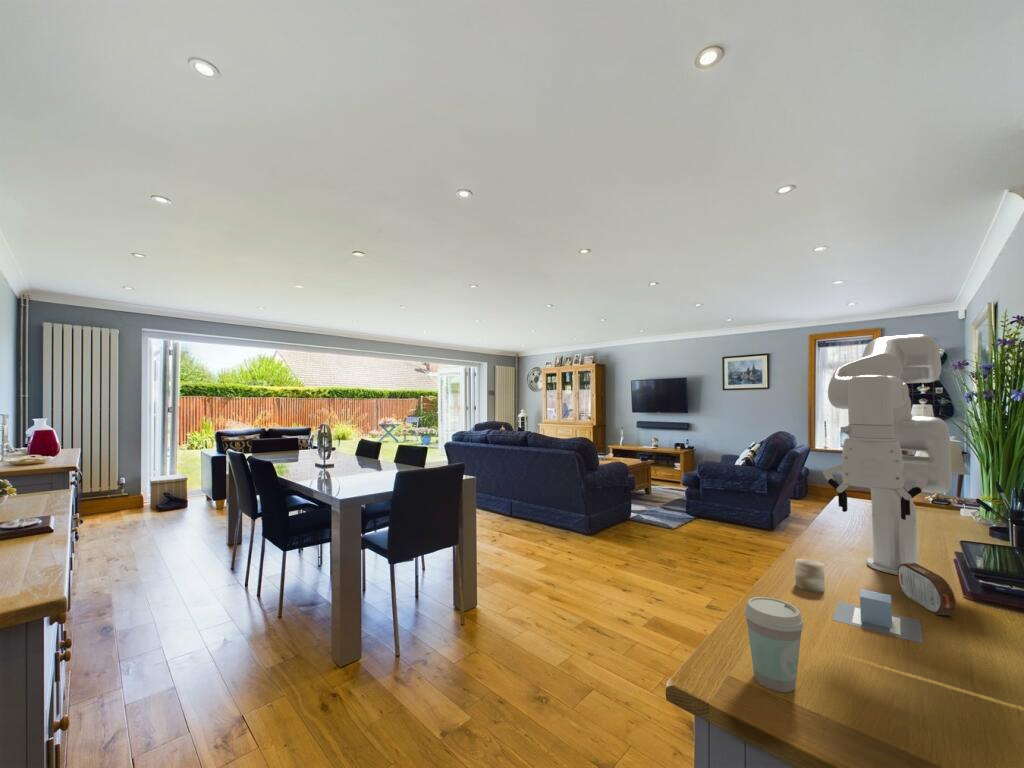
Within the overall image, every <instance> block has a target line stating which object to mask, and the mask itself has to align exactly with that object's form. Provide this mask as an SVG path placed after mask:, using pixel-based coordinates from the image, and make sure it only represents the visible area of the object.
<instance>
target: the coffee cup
mask: <svg viewBox="0 0 1024 768" xmlns="http://www.w3.org/2000/svg"><path fill="white" fill-rule="evenodd" d="M746 602H747V603H746V606H744V611H743V614H744V616H745V618H746V624H747V632H748V639H749V647H750V655H751V661H752V670H753V676H754V679H755V678H756V679H755V680H756V681H757V683H759V684H760V685H761V686H763V687H765V688H766V689H769V690H772V691H775V692H778V693H789V692H793V691H794V690H796V683H797V675H798V668H799V667H798V666H799V655H800V647H801V640H802V639H801V638H802V630H803V629H804V628H805V623H804V619H803V617H802V615H801V611H800V610H799V609H798V608H797V606H794V605H793V604H791V603H789V602H787V601H785V600H782V599H777V598H773V597H767V596H766V597H765V596H756V597H751V598H749V599H748V600H747V601H746Z"/></svg>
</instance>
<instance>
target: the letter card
mask: <svg viewBox="0 0 1024 768" xmlns="http://www.w3.org/2000/svg"><path fill="white" fill-rule="evenodd" d="M832 621H834V622H838V623H840V624H841V623H842V624H846V625H850V626H853V627H857V628H861V629H864V630H869V631H873V632H876V633H879V634H883V635H886V636H887V635H888V636H892V637H895V638H900V639H903V640H907V641H911V642H915V643H918V644H924V641H923V632H922V622H921V619H919V620H918V619H915V618H910V617H907V616H902V615H899V614H894V613H892V629H891V628H887V627H883V626H879V625H875V624H871V623H867V622H863V621H861V613H860V605H856V604H852V603H848V602H843V601H839V600H838V601H837V603H836V606H835V609H834V612H833V616H832Z"/></svg>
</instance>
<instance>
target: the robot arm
mask: <svg viewBox="0 0 1024 768" xmlns="http://www.w3.org/2000/svg"><path fill="white" fill-rule="evenodd" d="M938 345H939V344H938V342H937V341H936V340H935V338H933V337H932V336H931V335H928V334H922V333H921V334H920V333H917V334H906V335H905V334H904V335H903V334H902V335H892V336H891V335H890V336H882V337H877V338H874V339H873V340H871V341H870V342H868V343H867V344H866V346H865V348H864V351H863V353H862V357H861V358H859V359H857V360H854V361H852V362H849V363H845V364H843V365H841V366H840V367H838V368H837V369H835V371H834V372H833V374H832V376H831V379H830V381H829V382H828V387H827V398H828V401H829V403H830V404H831V405H832V406H833V407H834V408H836V409H841V410H848V411H847V414H848V425H846V426H840V433H841V434H846V435H848V437H847V438H844V441H843V446H842V454H841V463H840V464H837V465H835V466H832V467H829V468H826V469H823V471H822V474H823V476H824V478H825V479H826V481H827V482H828V484H829V485H830V486H831V488H833V489H834V490H836V492H837V494H838V496H837V497H838V507H839V508H841V509H842V510H841V511H842V512H843V513H846V512H847V511H848V492H847V491H846V489H848V488H849V487H850V486H852V487H861V488H869V489H870V495H871V498H870V499H871V524H872V526H871V527H872V528H871V529H872V557H868V558H866V565H867V566H869V567H870V568H872V569H874V570H876V571H879V572H882V573H887V574H889V575H890V574H891V575H895V576H898V570H897V569H898V566H899V565H900V564H904V563H916V564H919V551H918V550H919V547H918V521H917V520H918V518H917V517H918V516H917V515H918V514H917V507H916V505H915V503H914V502H913V500H912V499H913V498H915V497H917V496H918V495H919V494H920V493H928V494H929V493H930V494H946V493H948V492H949V491H950V489H952V483H953V471H952V470H953V469H952V452H951V449H952V448H951V447H952V446H951V435H950V429H949V427H948V424H947V423H946V422H945V420H943V419H942V418H940V417H934V416H914V415H913V414H912V400H911V398H910V396H909V395H910V394H909V393H910V391H909V386H908V384H920V383H921V384H923V383H924V384H928V383H933V382H936V381H937V380H939V377H940V375H941V373H942V360H941V353H940V349H939V346H938ZM902 451H909V452H910V451H912V452H922V453H925V454H927V455H928V456H922V455H921V456H919V455H908V454H903V453H902ZM839 472H841V480H842V482H841V483H839V482H838V481H837V480H836V479H835V478H834V476H833V474H835V473H839Z"/></svg>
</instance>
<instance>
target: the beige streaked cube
mask: <svg viewBox="0 0 1024 768" xmlns="http://www.w3.org/2000/svg"><path fill="white" fill-rule="evenodd" d="M794 563H795V564H794V568H795V569H794V570H795V571H794V572H795V574H794V577H795V578H794V579H795V586H796V587H797V588H798V589H800V590H802V591H806V592H810V593H817V594H818V593H824V592H825V590H826V586H825V585H826V584H825V583H826V582H825V564H824V563H822V562H821V561H818V560H814V559H811V558H796V559H795V561H794Z"/></svg>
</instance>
